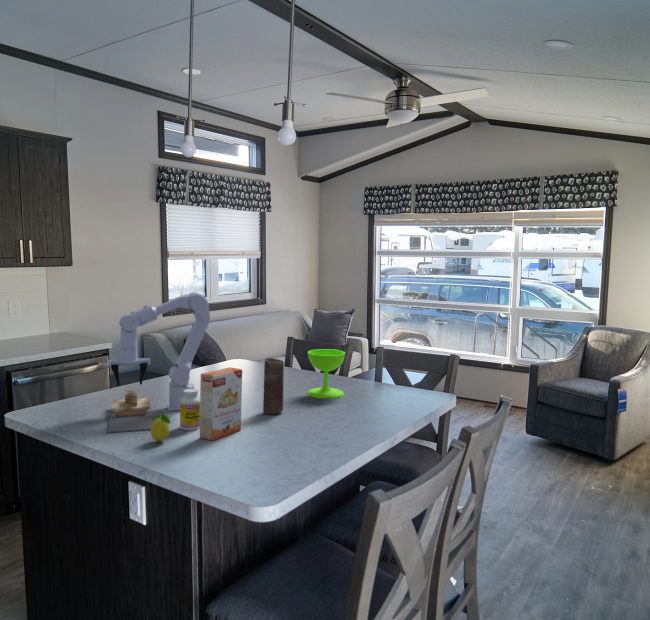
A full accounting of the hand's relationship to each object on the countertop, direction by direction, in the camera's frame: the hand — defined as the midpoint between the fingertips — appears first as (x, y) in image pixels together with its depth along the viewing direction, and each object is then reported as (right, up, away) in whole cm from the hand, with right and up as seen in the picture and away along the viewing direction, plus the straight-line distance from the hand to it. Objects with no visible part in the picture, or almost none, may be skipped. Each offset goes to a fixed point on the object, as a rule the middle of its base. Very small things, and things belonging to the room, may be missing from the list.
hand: (129, 384), depth 200 cm
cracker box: (+37, -13, -21) cm, 45 cm away
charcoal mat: (+6, -12, -13) cm, 18 cm away
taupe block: (0, -8, +1) cm, 8 cm away
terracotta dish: (0, -10, +1) cm, 10 cm away
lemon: (+20, -14, -30) cm, 39 cm away
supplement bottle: (+26, -13, -16) cm, 33 cm away
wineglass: (+71, -9, +34) cm, 80 cm away
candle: (+52, -11, +5) cm, 53 cm away
